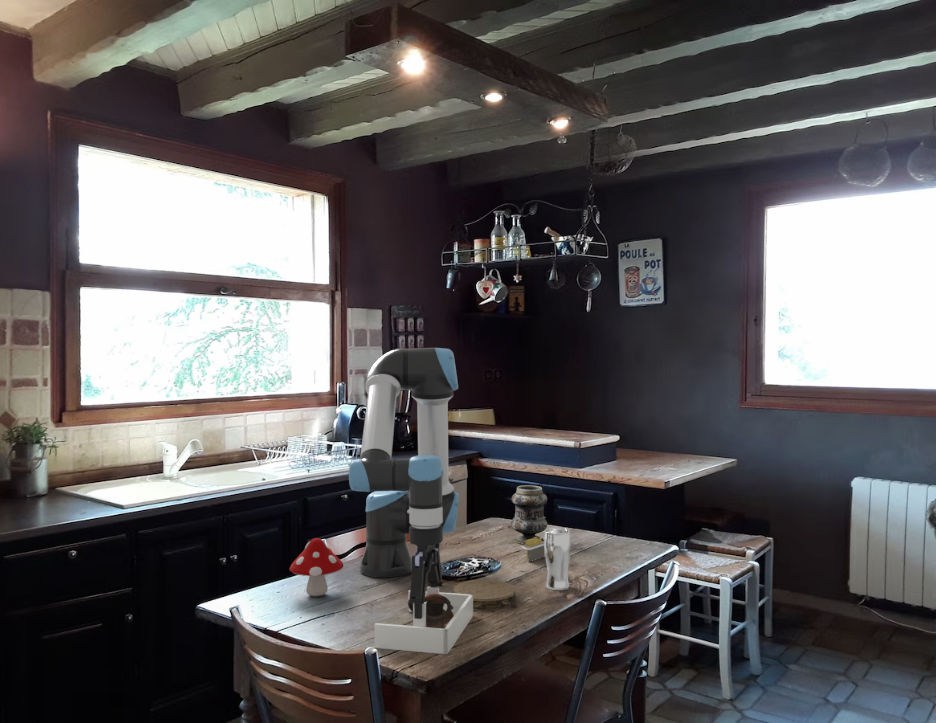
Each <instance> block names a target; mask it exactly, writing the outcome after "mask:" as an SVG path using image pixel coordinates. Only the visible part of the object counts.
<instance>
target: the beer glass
mask: <svg viewBox="0 0 936 723" xmlns="http://www.w3.org/2000/svg"><path fill="white" fill-rule="evenodd" d="M570 532H571V531H570V530H569V529H567V528H562V527H561V528H557V527H554V528H553V527H552V528H546V529H545V530H544V558H545V563H546V569H547V577H546V578H547V579H546V583H545V585H546V586H545V587H546V588H547V589H548V590H551V591H565V590H569V588H570V583H569V578H568V576H569V575H568V574H569V572H568V570H569V563H570V559H571V533H570Z"/></svg>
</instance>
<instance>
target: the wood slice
mask: <svg viewBox="0 0 936 723" xmlns="http://www.w3.org/2000/svg"><path fill="white" fill-rule="evenodd" d="M452 593H456V594H470V595H473V611H474V610H476V611H492V610H500V609H505V608H507V607H510V606H512V605H514V604H515V602H516V587H515V586H514V585H513V584H511V583H509V582H506V581H503V580H497V579H496V580H495V579H473V580H472V579H471V580H466V581H462V582H460V583H458V584H455V585H454V586H453V588H452Z"/></svg>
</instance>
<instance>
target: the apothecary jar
mask: <svg viewBox="0 0 936 723" xmlns="http://www.w3.org/2000/svg"><path fill="white" fill-rule="evenodd" d="M511 502H512V503H513V504H514V505H515V506H514V508H515V511H514V512H515V513H514V517H513V518H512V520H511V522H510V525H511V528H512V529H513V530H514V531H515V532H518V533H520V534H522V535H520V536H517V537H516V538H515V539H514V540H515V541H516V542H519V543H525V544H526V540H529V539H532V538H536V537H537V539H540V538H541V541H543V539H544V538H543V537H540V536H539V535H537V534H541V533H542V532H545V530H547V529H548V521H547V520H546V519H545V516H544V515H545V514H544V509H545V508H544V506H545V505H546V504H547V502H548V497H547V495H546V494H545V493H544V491H543V488H542V486H537V485H519V486H517V487H516V492H515V493H514V494H513V495H512V496H511ZM515 541H514V542H515ZM516 542H515V543H516ZM519 543H518V544H519ZM525 544H524V545H525Z"/></svg>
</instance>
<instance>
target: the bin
mask: <svg viewBox="0 0 936 723" xmlns="http://www.w3.org/2000/svg"><path fill="white" fill-rule="evenodd" d="M439 595H442V596H445V597H446V598H447V599H448V600H449V601H450V603H451V605H452V606H453V609H452V610H451V611H452V613H453V615H454V616H453V618H452V619H451V620H450V621H449V622H448V623H447V624H446V626H445V627H444V628H442V627H439V628H430V627H418V626H413V625H405V624H393V623H392V624H391V623H380V622H375V623H374V649H383V650H393V651H394V650H396V651H404V652H405V651H406V652H417V653H418V652H419V653H427V654H428V653H429V654H438V655H439V654H440V655H448V654H449V652H450V651H451V649H452V648H453V647H454V645H455V644H456V642H457V641H458V639H459V638H460V637H461V635H462V633H463V632H464V630H465V628H467V625H468V624H469V623H470V621H471V620H472V619H473V617H474V609H473V595H470V594H456V593H453V592H441V591H439ZM425 596H427V590H426V592H425ZM409 599H410V589H409V590H408V591H407V602H408V601H409ZM426 603H427V602H426ZM443 609H444V610H445V611H446V610H447V604H444V607H443ZM407 611H408V613H412V611H411V610H410V608H409V606H408V605H407Z"/></svg>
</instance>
